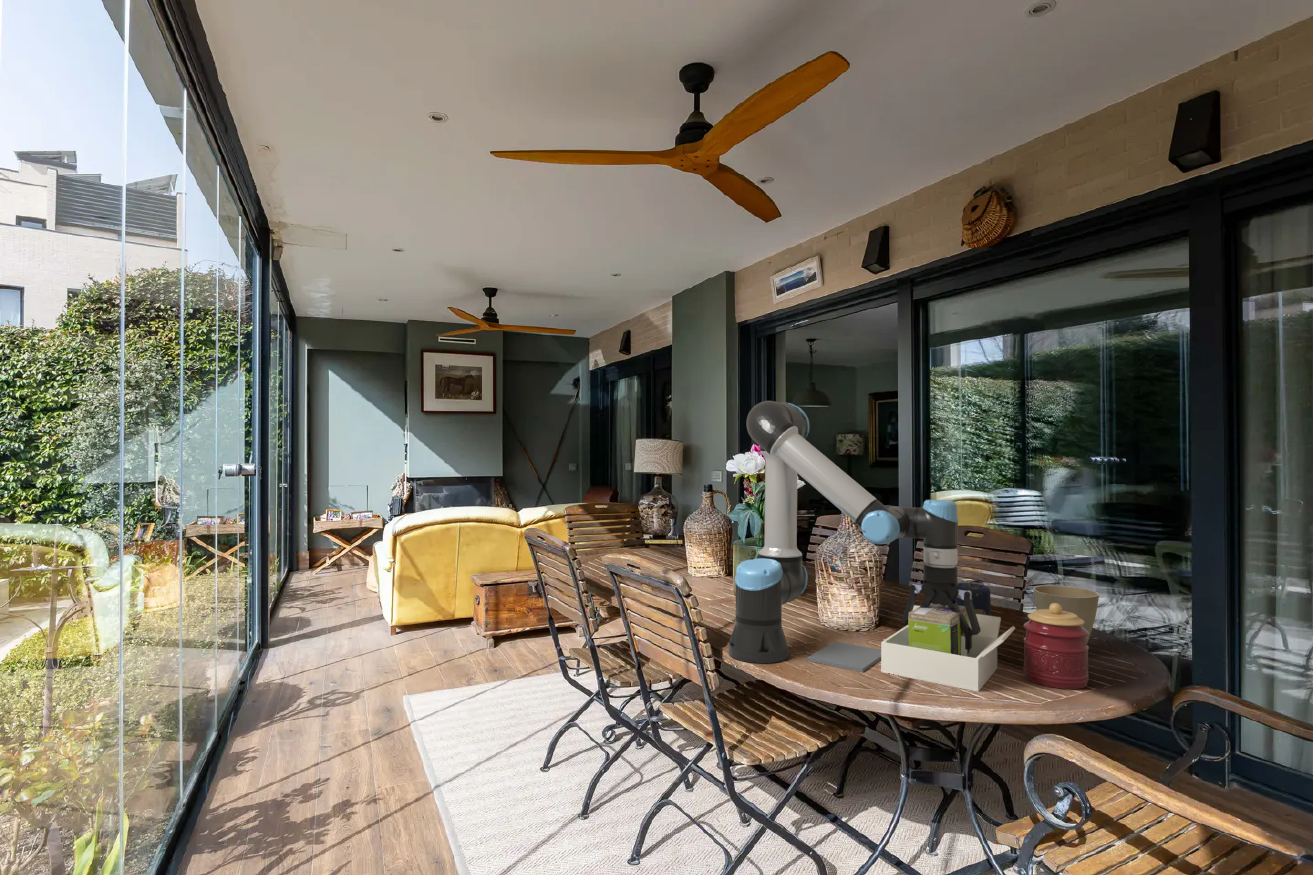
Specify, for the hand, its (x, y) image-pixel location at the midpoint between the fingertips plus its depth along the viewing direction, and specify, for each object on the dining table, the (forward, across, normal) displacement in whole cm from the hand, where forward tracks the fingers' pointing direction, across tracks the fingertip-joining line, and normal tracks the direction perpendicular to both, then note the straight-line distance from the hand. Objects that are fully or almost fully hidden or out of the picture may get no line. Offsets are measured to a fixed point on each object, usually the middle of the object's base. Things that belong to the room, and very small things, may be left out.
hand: (939, 658), depth 166 cm
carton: (+3, +2, +2) cm, 4 cm away
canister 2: (+3, +23, +9) cm, 25 cm away
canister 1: (+3, +2, +22) cm, 22 cm away
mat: (+3, -21, -4) cm, 22 cm away
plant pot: (+3, +22, +36) cm, 42 cm away
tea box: (+3, 0, 0) cm, 3 cm away
